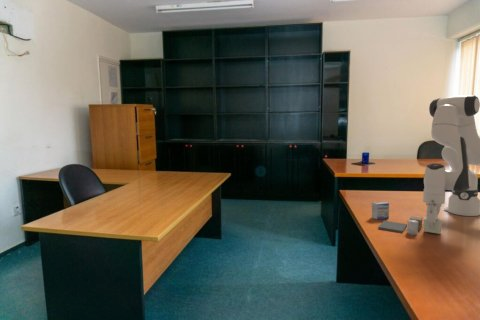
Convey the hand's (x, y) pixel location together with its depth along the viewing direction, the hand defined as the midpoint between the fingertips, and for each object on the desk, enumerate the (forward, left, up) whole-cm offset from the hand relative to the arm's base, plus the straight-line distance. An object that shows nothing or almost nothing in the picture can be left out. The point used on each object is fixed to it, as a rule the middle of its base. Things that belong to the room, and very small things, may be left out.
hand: (432, 226), depth 155 cm
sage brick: (0, 0, -2) cm, 2 cm away
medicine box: (-12, -26, -3) cm, 29 cm away
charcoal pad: (+1, -17, -3) cm, 17 cm away
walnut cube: (-5, -8, -3) cm, 10 cm away
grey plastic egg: (+5, -8, -3) cm, 10 cm away
